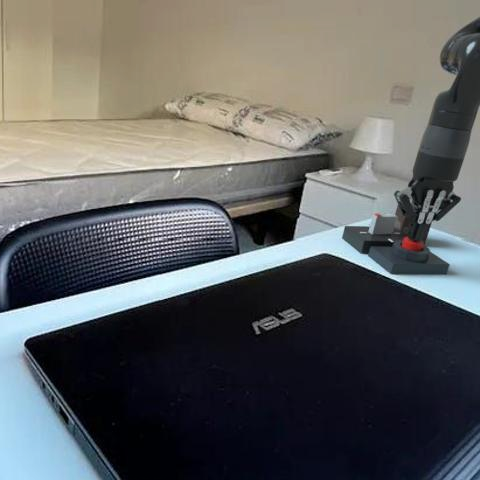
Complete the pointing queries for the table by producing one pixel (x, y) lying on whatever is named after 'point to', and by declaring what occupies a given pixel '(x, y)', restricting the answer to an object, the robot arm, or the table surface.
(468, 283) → the table surface
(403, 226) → the box
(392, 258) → the button block
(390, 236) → the panel
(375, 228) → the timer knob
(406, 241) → the power button
